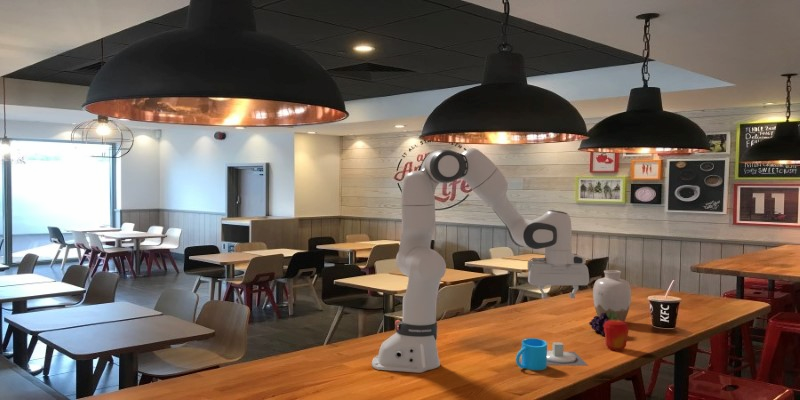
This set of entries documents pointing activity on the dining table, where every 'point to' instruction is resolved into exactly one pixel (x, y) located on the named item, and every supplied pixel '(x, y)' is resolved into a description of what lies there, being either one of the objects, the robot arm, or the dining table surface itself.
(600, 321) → the fruit
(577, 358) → the mat
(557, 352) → the lid
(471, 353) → the dining table surface
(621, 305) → the vase
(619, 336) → the apple
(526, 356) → the mug
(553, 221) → the robot arm
